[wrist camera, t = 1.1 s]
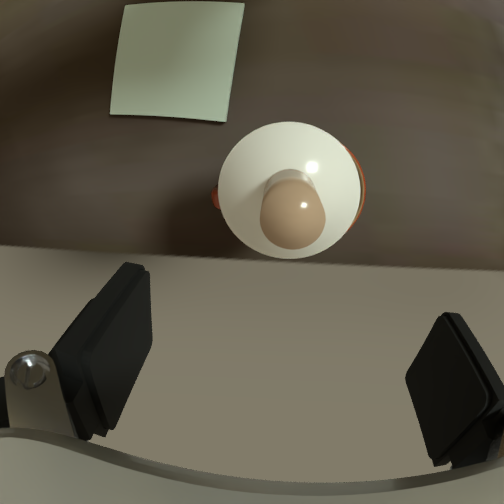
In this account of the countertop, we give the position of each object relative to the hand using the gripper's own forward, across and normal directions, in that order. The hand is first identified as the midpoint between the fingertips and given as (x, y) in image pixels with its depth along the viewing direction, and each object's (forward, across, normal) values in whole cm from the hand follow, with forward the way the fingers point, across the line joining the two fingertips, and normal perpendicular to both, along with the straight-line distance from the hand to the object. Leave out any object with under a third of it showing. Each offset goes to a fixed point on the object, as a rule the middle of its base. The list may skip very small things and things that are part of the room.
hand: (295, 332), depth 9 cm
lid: (+15, 0, 0) cm, 15 cm away
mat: (+25, +13, -10) cm, 30 cm away
